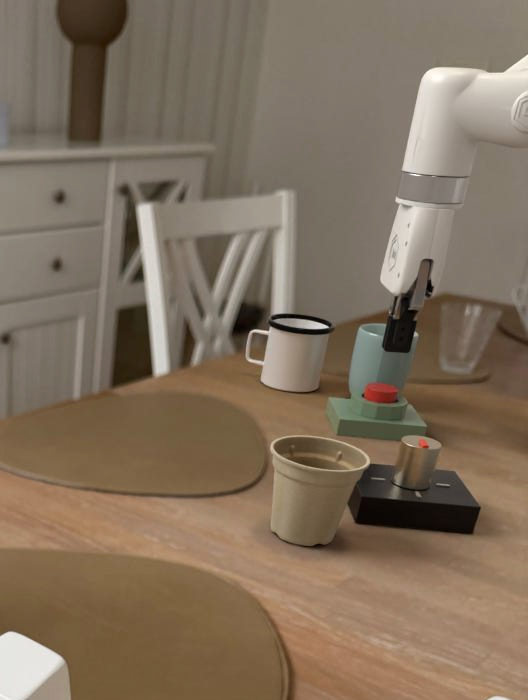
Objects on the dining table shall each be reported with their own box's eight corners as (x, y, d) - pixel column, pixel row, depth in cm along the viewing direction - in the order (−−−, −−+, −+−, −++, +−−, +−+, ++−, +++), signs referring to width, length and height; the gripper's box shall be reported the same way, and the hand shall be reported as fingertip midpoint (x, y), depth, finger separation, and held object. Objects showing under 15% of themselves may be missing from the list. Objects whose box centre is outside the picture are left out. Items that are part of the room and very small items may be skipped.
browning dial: (387, 473, 105) (399, 430, 103) (425, 477, 105) (437, 434, 102) (394, 487, 102) (406, 443, 99) (433, 491, 102) (446, 447, 99)
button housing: (407, 420, 132) (414, 391, 129) (423, 443, 124) (431, 412, 122) (324, 412, 132) (331, 383, 130) (335, 435, 124) (342, 404, 122)
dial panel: (447, 496, 109) (455, 469, 107) (472, 534, 100) (481, 505, 99) (339, 486, 110) (345, 459, 108) (355, 523, 101) (362, 494, 99)
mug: (330, 384, 144) (344, 321, 139) (309, 399, 137) (323, 333, 132) (254, 367, 149) (264, 306, 144) (230, 381, 142) (240, 317, 137)
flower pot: (338, 517, 102) (357, 438, 97) (360, 558, 94) (382, 474, 89) (248, 511, 102) (263, 431, 97) (262, 551, 94) (279, 466, 89)
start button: (391, 397, 128) (394, 384, 127) (398, 407, 124) (401, 393, 123) (360, 394, 128) (363, 381, 127) (366, 404, 124) (369, 390, 124)
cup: (367, 413, 133) (385, 339, 128) (331, 396, 139) (347, 324, 134) (412, 409, 136) (431, 336, 130) (374, 392, 142) (391, 322, 136)
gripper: (385, 181, 120) (354, 334, 129) (413, 197, 107) (376, 365, 116) (447, 185, 119) (411, 337, 129) (483, 201, 107) (440, 369, 116)
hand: (395, 350), depth 123 cm, fingers closed
